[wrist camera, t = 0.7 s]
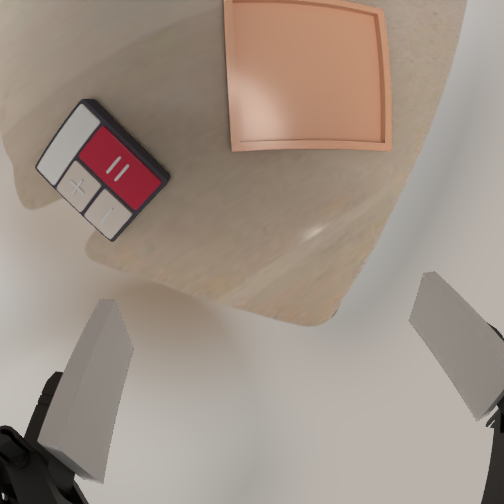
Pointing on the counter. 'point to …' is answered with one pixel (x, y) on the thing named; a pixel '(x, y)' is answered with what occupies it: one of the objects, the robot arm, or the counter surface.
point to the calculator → (101, 169)
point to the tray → (307, 75)
